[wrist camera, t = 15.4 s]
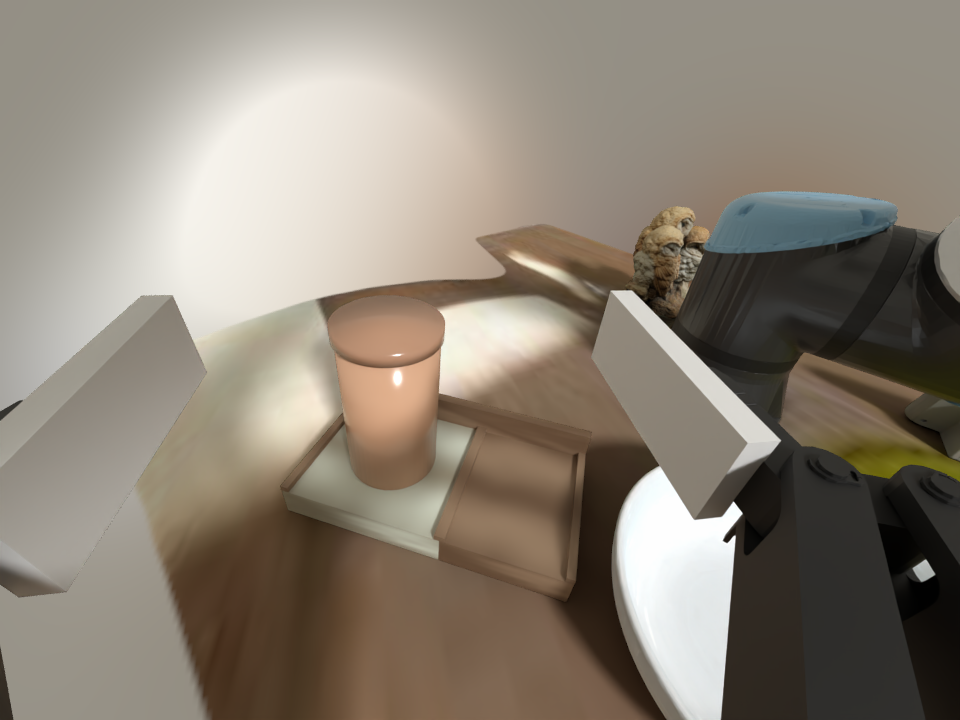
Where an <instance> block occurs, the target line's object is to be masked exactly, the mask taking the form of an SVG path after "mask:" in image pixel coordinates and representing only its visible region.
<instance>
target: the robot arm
mask: <svg viewBox="0 0 960 720" xmlns="http://www.w3.org/2000/svg"><path fill="white" fill-rule="evenodd" d="M897 211H898V209H897V207H896V206H895V205H894V204H892V203H889V202H886V201H882V200H878V199H873V198H864V197H855V196H852V195H842V194H832V193H817V192H816V193H815V192H762V193H755V194H749V195H745V196H742V197H740V198H737V199H736V200H734V201H732V202H731V203H730V204H729V205H728V206H727V207H726V208H725V209H724V211H723V212H722V214H721V217H720V219H719V221H718V223H717V225H716V227H715V229H714V231H713V233H712V235H711V237H710V239H708V240H707V241H706V243H705V246H704V248H705V252H704V254H703V256H702V259H701V261H700V264H699V266H698V268H697V271H696V273H695V275H694V278H693V280H692V283H691V285H690V287H689V289H688V292H687V294H686V296H685V298H684V301H683V303H682V305H681V308H680V310H679V312H678V315H677V317H676V320H675V322H674V324H673V326H672V328H671V329H670V328H669V327H668V326H667V325H666V324H665V323H664V322H663V321H662V320H661V319H660V318H659V317H658V316H657V315H656V314H655V313H654V312H653V311H652V310H651V309H650V308H649V307H648V306H647V305H646V304H645V303H644V302H643V301H642V300H641V299H640V298H639V297H638V296H637V295H636V294H635V293H634V292H633V291H632V290H628V291H610V295H609V298H608V302H607V305H606V309H605V312H604V315H603V319H602V322H601V326H600V329H599V333H598V336H597V339H596V343H595V346H594V350H593V353H592V357H591V358H592V359H593V361H594V362H595V364H596V366H597V367H598V369H599V370H600V372H601V374H602V375H603V377H604V378H605V380H606V381H607V383H608V385H609V386H610V388H611V389H612V391H613V393H614V394H615V396H616V397H617V399H618V400H619V402H620V404H621V405H622V407H623V408H624V410H625V412H626V413H627V415H628V416H629V418H630V420H631V421H632V423H633V424H634V426H635V427H636V429H637V431H638V432H639V434H640V435H641V437H642V439H643V440H644V442H645V443H646V445H647V447H648V448H649V450H650V451H651V453H652V454H653V456H654V458H655V459H656V461H657V462H658V464H659V466H660V467H661V469H662V470H663V472H664V473H665V475H666V477H667V478H668V480H669V481H670V483H671V485H672V486H673V488H674V489H675V491H676V493H677V494H678V496H679V497H680V499H681V500H682V502H683V504H684V505H685V507H686V508H687V510H688V512H689V513H690V515H691V516H692V518H693V520H700V519H709V518H717V517H722V516H723V515H724V514H725V513H726V511H727V510H728V509H729V507H730V506H731V505H732V503H733V502H734V503H735V504H736V505H737V507H738V508H739V509H740V511H741V512H742V513H743V514H742V515H741V516H740V517H739V519H738V520H737V521H736V522H735V523H734V525H733V526H732V527H731V528H730V530H729V531H728V532H727V533H726V534H725V537H724V539H723V541H724V542H726V543H728V542H729V541H730V540H731V539H732V538H733V536H736V538H735V550H734V563H733V575H732V588H731V600H730V612H729V625H728V637H727V649H726V662H725V674H724V687H723V699H722V711H721V720H960V482H959V481H957V480H956V479H954V478H952V477H950V476H947V475H946V474H944V473H942V472H940V471H936V470H933V469H930V468H927V467H924V466H918V465H908V466H904V467H902V468H901V469H900V470H899V471H898V472H897V473H895V474H894V475H893V476H892V477H891V478H890V479H887V478H882V477H876V476H871V475H866V474H861V473H860V472H859V471H858V470H857V469H856V468H855V467H854V466H852V465H851V464H850V463H848V462H847V461H845V460H844V459H842V458H841V457H839V456H837V455H835V454H833V453H831V452H829V451H826V450H823V449H819V448H816V447H802V446H801V445H800V444H799V443H798V442H797V441H796V440H795V439H794V438H793V437H792V436H791V435H789V434H788V433H787V432H786V431H785V430H784V429H783V428H782V427H781V426H780V425H779V422H780V420H781V415H782V410H783V404H784V399H785V393H786V388H787V383H788V377H789V373H790V372H791V370H792V368H793V367H794V365H795V364H796V362H797V361H798V359H799V358H800V356H801V355H802V354H803V353H804V352H806V353H809V354H813V355H816V356H819V357H822V358H825V359H827V360H831V361H834V362H837V363H840V364H842V365H845V366H848V367H851V368H854V369H857V370H860V371H863V372H866V373H869V374H872V375H875V376H878V377H881V378H884V379H886V380H889V381H892V382H895V383H898V384H901V385H903V386H906V387H909V388H912V389H915V390H918V391H920V392H923V393H926V394H929V395H932V396H935V397H937V398H940V399H943V400H945V401H947V402H948V403H951V404H953V405H956V406H958V407H960V216H958V217H957V218H956V219H955V220H954V221H953V222H951V223H950V224H949V225H948V226H947V227H946V228H945V229H944V230H943V231H942V232H941V233H940V234H939V233H933V232H928V231H923V230H917V229H912V228H906V227H901V226H896V225H894V224H895V222H896V220H897ZM206 373H207V371H206V369H205V367H204V365H203V362H202V360H201V358H200V356H199V353H198V351H197V349H196V347H195V344H194V342H193V340H192V338H191V336H190V334H189V331H188V329H187V327H186V324H185V322H184V320H183V318H182V315H181V313H180V311H179V309H178V306H177V304H176V302H175V300H174V298H173V296H172V295H159V296H158V295H154V296H141V297H140V298H138V299H137V300H136V301H135V302H134V303H133V304H132V305H131V306H129V307H128V308H127V309H126V310H125V311H124V312H123V313H122V314H121V315H119V316H118V317H117V318H116V319H115V320H114V321H113V322H112V323H110V324H109V325H108V326H107V327H106V328H105V329H104V330H103V331H101V332H100V333H99V334H98V335H97V336H96V337H95V338H93V339H92V340H91V341H90V342H89V343H88V344H87V345H85V346H84V347H83V348H82V349H81V350H80V351H79V352H78V353H76V354H75V355H74V356H73V357H72V358H71V359H70V360H69V361H67V362H66V363H65V364H64V365H63V366H62V367H61V368H60V369H59V370H57V371H56V372H55V373H54V374H53V375H52V376H51V377H49V378H48V379H47V380H46V381H45V382H44V383H43V384H42V385H40V386H39V387H38V388H37V389H36V390H35V391H34V392H33V393H31V394H30V395H29V396H28V397H27V398H26V399H25V400H21V401H18V402H16V403H14V404H12V405H11V406H9V407H7V408H5V409H4V410H2V411H0V585H2V586H3V587H5V588H6V589H7V590H9V591H10V592H12V593H13V594H15V595H16V596H17V597H28V596H37V595H45V594H54V593H63V592H67V591H68V589H69V588H70V586H71V585H72V583H73V581H74V580H75V578H76V576H77V575H78V574H79V572H80V570H81V569H82V567H83V566H84V564H85V563H86V561H87V559H88V558H89V556H90V555H91V553H92V552H93V550H94V549H95V547H96V545H97V544H98V542H99V541H100V539H101V538H102V536H103V534H104V533H105V531H106V530H107V528H108V527H109V525H110V523H111V522H112V520H113V519H114V517H115V516H116V514H117V513H118V511H119V509H120V508H121V506H122V505H123V503H124V502H125V500H126V498H127V496H128V495H129V494H130V492H131V491H132V489H133V487H134V486H135V484H136V483H137V481H138V480H139V478H140V476H141V475H142V473H143V472H144V470H145V469H146V467H147V466H148V464H149V462H150V461H151V459H152V458H153V456H154V455H155V453H156V451H157V450H158V448H159V447H160V445H161V444H162V442H163V440H164V439H165V437H166V436H167V434H168V433H169V431H170V430H171V428H172V426H173V425H174V423H175V422H176V420H177V419H178V417H179V415H180V414H181V412H182V411H183V409H184V408H185V406H186V404H187V403H188V401H189V400H190V398H191V397H192V395H193V393H194V392H195V390H196V389H197V387H198V386H199V384H200V383H201V381H202V379H203V378H204V376H205V375H206ZM924 560H927V562H928V563H929V565H930V567H931V568H932V570H933V572H934V573H935V575H934V576H932V577H931V578H929V579H927V580H926V581H923V582H921V581H920V579H919V578H918V577H917V576H916V574H915V572H914V570H913V569H912V568H914V567H915V566H917V565H918V564H920V563H921V562H923V561H924ZM0 720H13V715H12V710H11V704H10V699H9V693H8V687H7V681H6V676H5V670H4V665H3V660H2V654H1V649H0Z"/></svg>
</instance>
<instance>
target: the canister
mask: <svg viewBox="0 0 960 720" xmlns="http://www.w3.org/2000/svg"><path fill="white" fill-rule="evenodd" d="M328 334H329V340H330V345H331V347H332V349H333V350H334V352H335V358H336V365H337V372H338V379H339V386H340V393H341V400H342V407H343V414H344V421H345V428H346V435H347V442H348V449H349V455H350V462H351V467H352V470H353V472H354V474H355V475H356V477H357V478H358V479H359V480H360V481H361V482H363V483H364V484H366V485H368V486H370V487H372V488H376V489H380V490H398V489H403V488H407V487H409V486H412V485H414V484H416V483H418V482H419V481H421V480H422V479H423V478H424V477H425V476H426V475H427V474H428V473H429V472H430V470H431V469H432V467H433V465H434V462H435V458H436V440H437V419H438V398H439V377H440V356H441V346H442V345H443V342H444V334H445V320H444V318H443V316H442V314H441V313H440V312H439V311H438V310H437V309H436V308H435V307H433V306H431V305H430V304H428V303H426V302H423V301H421V300H417V299H414V298H409V297H404V296H394V295H382V296H371V297H365V298H361V299H357V300H354V301H351V302H349V303H347V304H345V305H343V306H341V307H340V308H338V309H337V310H336V311H334V312H333V314H332V315H331V316H330V318H329V320H328Z"/></svg>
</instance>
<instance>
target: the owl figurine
mask: <svg viewBox="0 0 960 720" xmlns="http://www.w3.org/2000/svg"><path fill="white" fill-rule="evenodd" d="M694 221H695V215H694V212H693V211H692V210H691V209H689V208H686V207H685V208H683V207H677V206H676V207H672V208H668V209H665V210H663V211H661V212H660V213H659V214H658V215H657V216H656V217H655V218H654V219H653V221H652V223H651V224H650V226H647V227H646V228H644V229H643V231H642V233H641V235H640V236H639V239H638V242H637V244H636V246H635V247H636V248H635V252H634V254H633V256H634V259H633V261H634V269H635V273H634V276H633V281H629V283H628V284H626V286H625V287H626V289H627V290H632V291H633V292H634V293H635V294H636V295H637V296H638V297H639V298H640V299H641V300H642V301H643V302H645V301H646V302H645V304H646V305H647V306H648V307H649V308H650V309H651V310H652V311H653V312H654V313H655V314H656V315H657V316H658V317H659V318H660V319H661V320H662V321H663V322H664V323H665V324H666V325H667V326H668V327H669V328H670V329H671V326H673V324H674V322H675V320H676V317H677V315H678V312H679V310H680V308H681V305H682V303H683V301H684V298H685V296H686V294H687V292H688V289H689V287H690V285H691V283H692V280H693V278H694V275H695V273H696V271H697V268H698V266H699V264H700V261H701V259H702V256H703V254H704V252H705V248H704V246H705V243H706V241H707V240H708V238H709V232H708V230H707V229H706V228H704V227H699V226H694V227H693V223H694ZM648 299H649V300H651V301H648V302H647V300H648Z"/></svg>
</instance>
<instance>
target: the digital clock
mask: <svg viewBox="0 0 960 720" xmlns="http://www.w3.org/2000/svg"><path fill="white" fill-rule="evenodd" d="M905 414H906V416H907V417H908V418H909V419H910V420H912V421H913V422H915V423H917V424H920V425H922V426H925V427H927V428H930V429H933V430H935V431H938V432H940V435H941V438H942V440H943V443H944V446H945V448H946V451H947V454H948V456H949V457H950V458H952V459H955V460H957V461H960V407H958V406H956V405H953V404H951V403H948V402H947V401H945V400H943V399H940V398H937V397H935V396H932V395H929V394H926V393H924V394H923V395H922V396H920V397H919V398H917V399H916V400H915V401H913V402H912V403H911V404H909V405H908V406H907V407H906V408H905Z"/></svg>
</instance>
